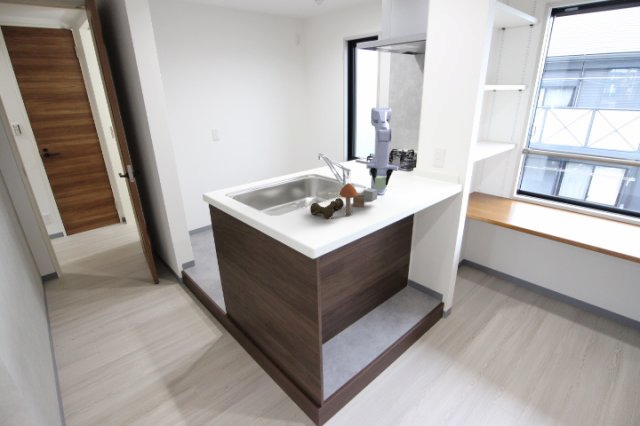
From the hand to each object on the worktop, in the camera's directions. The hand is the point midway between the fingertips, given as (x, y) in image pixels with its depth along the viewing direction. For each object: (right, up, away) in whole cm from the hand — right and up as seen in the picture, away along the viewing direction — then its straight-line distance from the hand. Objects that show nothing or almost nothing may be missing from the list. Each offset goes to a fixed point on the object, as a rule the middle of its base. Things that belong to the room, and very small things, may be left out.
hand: (380, 184), depth 153 cm
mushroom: (-17, -15, -10) cm, 25 cm away
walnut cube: (-11, -10, +2) cm, 15 cm away
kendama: (-26, -15, -7) cm, 31 cm away
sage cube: (0, -2, +1) cm, 2 cm away
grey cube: (-4, -7, +10) cm, 13 cm away
